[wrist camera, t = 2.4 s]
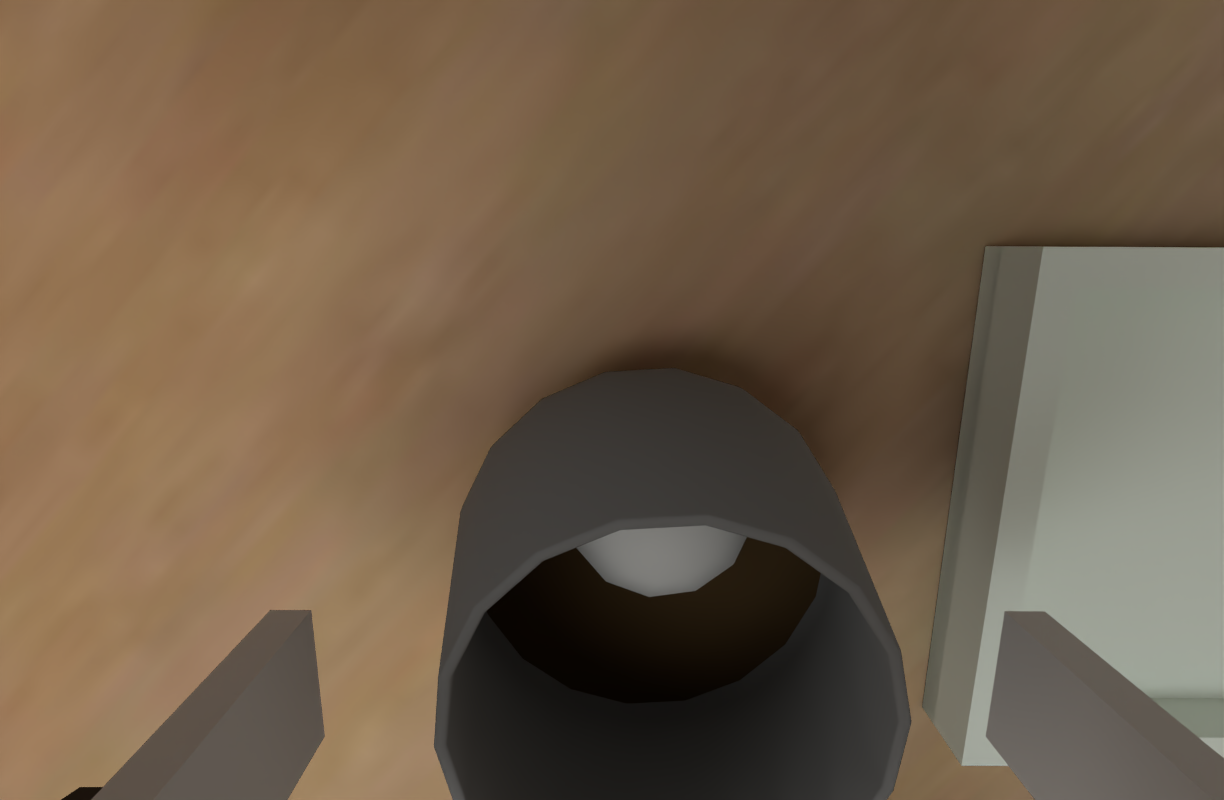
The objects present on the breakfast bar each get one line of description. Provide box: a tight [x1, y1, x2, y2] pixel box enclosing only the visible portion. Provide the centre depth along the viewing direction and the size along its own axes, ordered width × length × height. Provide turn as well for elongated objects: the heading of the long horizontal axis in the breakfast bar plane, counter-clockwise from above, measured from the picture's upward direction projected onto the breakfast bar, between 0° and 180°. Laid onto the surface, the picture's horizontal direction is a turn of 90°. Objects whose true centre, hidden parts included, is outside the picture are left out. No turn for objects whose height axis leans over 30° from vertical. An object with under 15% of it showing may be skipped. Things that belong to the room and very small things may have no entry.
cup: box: [434, 368, 911, 800], centre depth 15 cm, size 10×9×10 cm
